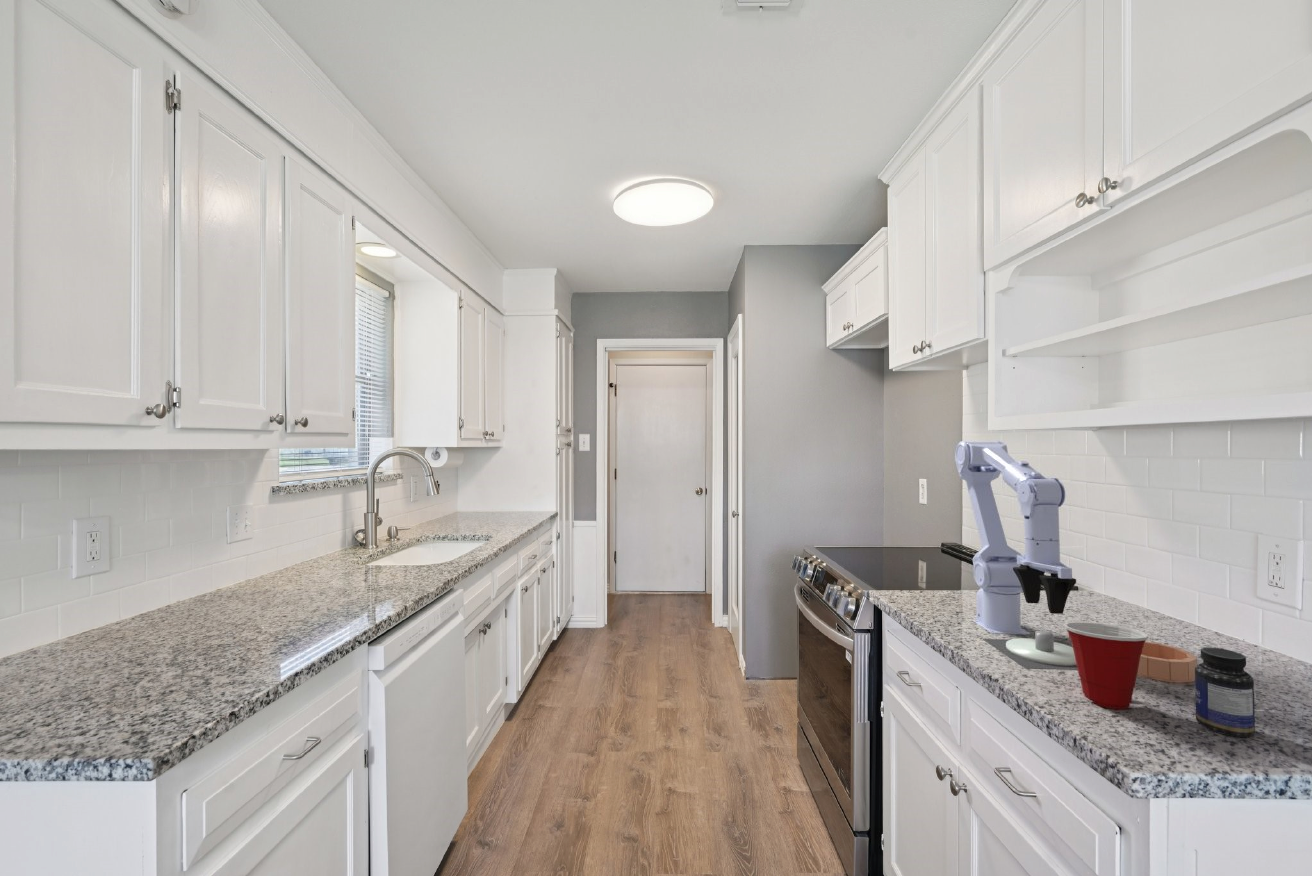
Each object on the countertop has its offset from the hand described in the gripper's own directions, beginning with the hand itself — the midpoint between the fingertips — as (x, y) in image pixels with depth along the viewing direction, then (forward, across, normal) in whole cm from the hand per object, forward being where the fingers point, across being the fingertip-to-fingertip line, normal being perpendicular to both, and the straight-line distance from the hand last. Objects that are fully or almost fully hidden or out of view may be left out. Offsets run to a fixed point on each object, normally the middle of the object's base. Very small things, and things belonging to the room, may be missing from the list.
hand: (1043, 608), depth 111 cm
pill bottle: (+10, +28, +9) cm, 31 cm away
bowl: (+10, +7, +15) cm, 19 cm away
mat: (+10, 0, 0) cm, 10 cm away
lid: (+9, 0, 0) cm, 9 cm away
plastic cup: (+10, +20, -2) cm, 22 cm away
